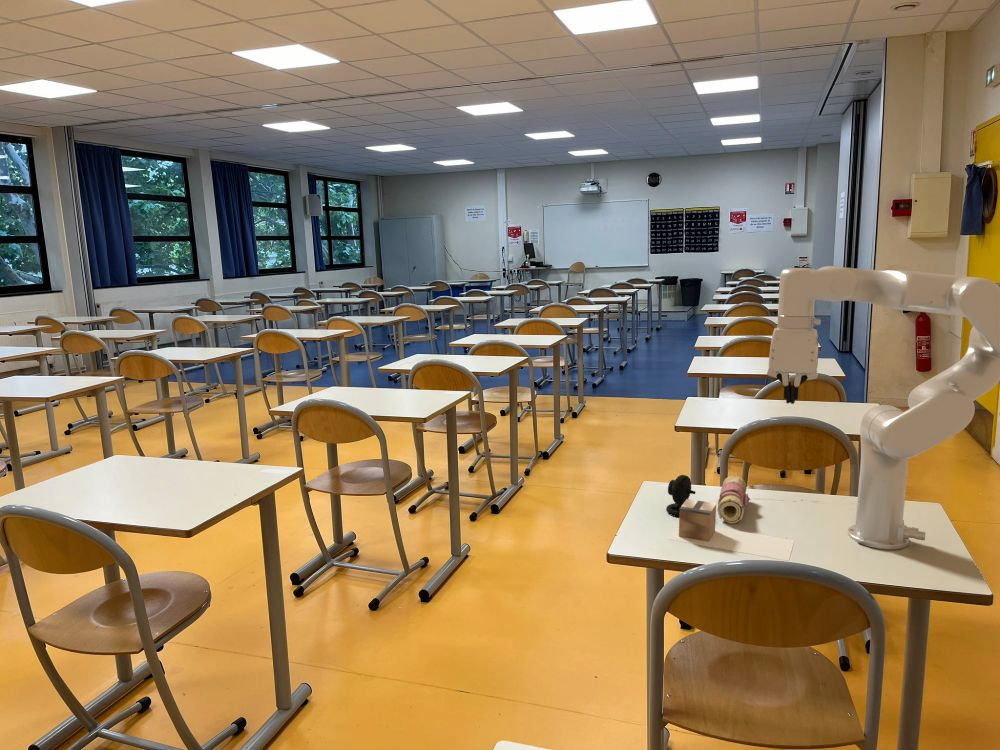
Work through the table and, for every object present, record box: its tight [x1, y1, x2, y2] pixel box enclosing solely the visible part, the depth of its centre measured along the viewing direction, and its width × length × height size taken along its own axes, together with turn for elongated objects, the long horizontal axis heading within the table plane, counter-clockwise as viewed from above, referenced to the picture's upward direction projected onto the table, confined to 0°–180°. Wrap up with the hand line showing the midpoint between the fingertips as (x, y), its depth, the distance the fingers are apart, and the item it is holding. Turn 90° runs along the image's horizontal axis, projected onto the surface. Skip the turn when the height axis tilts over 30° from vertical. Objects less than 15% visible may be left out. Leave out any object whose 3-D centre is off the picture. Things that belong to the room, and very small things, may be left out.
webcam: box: [665, 474, 697, 518], centre depth 182 cm, size 8×8×10 cm
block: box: [678, 498, 717, 542], centre depth 167 cm, size 7×7×7 cm
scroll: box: [716, 475, 751, 525], centre depth 182 cm, size 8×8×20 cm
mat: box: [669, 526, 795, 561], centre depth 164 cm, size 26×12×1 cm, turn 62°
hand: (790, 402), depth 163 cm, fingers closed
